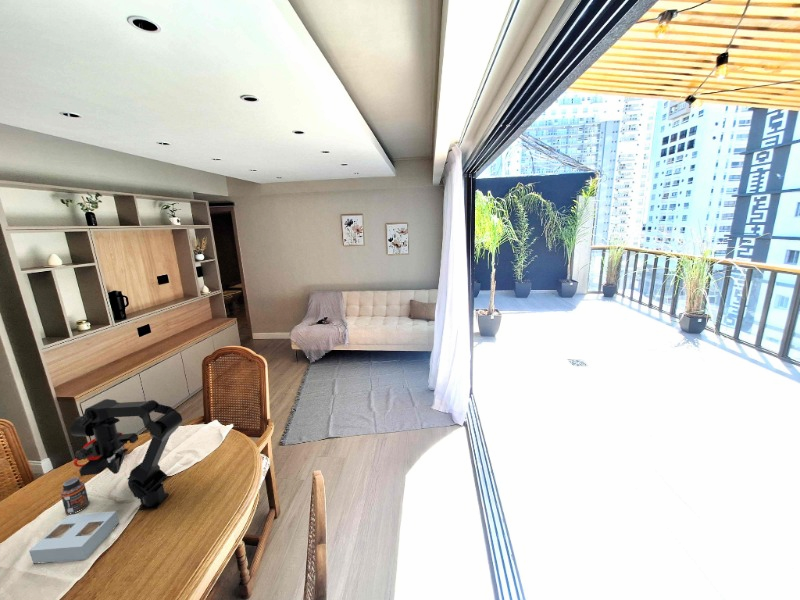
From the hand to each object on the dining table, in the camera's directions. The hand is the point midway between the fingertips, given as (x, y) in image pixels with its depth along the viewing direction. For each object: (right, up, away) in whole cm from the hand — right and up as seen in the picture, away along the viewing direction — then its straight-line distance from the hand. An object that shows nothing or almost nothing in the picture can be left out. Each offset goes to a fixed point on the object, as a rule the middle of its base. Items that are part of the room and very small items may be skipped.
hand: (116, 472), depth 110 cm
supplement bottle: (-14, -13, 0) cm, 19 cm away
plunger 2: (+5, -14, -13) cm, 20 cm away
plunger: (-4, -15, -14) cm, 20 cm away
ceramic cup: (-26, -9, +22) cm, 35 cm away
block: (+1, -15, -13) cm, 20 cm away
